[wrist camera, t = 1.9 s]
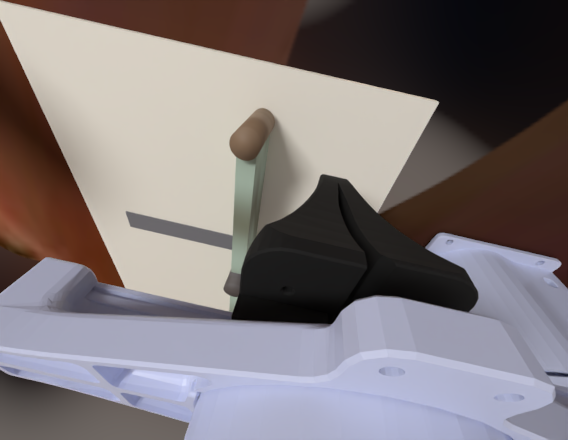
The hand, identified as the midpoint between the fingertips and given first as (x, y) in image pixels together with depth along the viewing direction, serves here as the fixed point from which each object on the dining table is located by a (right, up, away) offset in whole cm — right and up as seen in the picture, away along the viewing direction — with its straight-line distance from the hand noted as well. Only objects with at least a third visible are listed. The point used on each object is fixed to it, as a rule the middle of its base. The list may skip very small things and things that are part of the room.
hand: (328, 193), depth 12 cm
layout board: (-8, -3, +9) cm, 13 cm away
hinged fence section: (-4, +1, +5) cm, 6 cm away
